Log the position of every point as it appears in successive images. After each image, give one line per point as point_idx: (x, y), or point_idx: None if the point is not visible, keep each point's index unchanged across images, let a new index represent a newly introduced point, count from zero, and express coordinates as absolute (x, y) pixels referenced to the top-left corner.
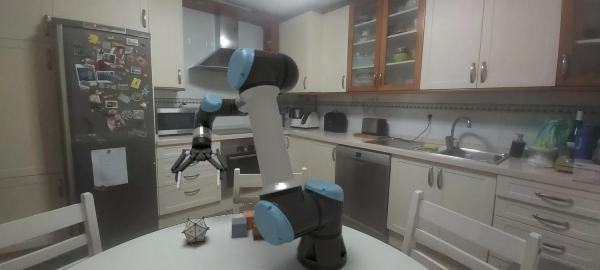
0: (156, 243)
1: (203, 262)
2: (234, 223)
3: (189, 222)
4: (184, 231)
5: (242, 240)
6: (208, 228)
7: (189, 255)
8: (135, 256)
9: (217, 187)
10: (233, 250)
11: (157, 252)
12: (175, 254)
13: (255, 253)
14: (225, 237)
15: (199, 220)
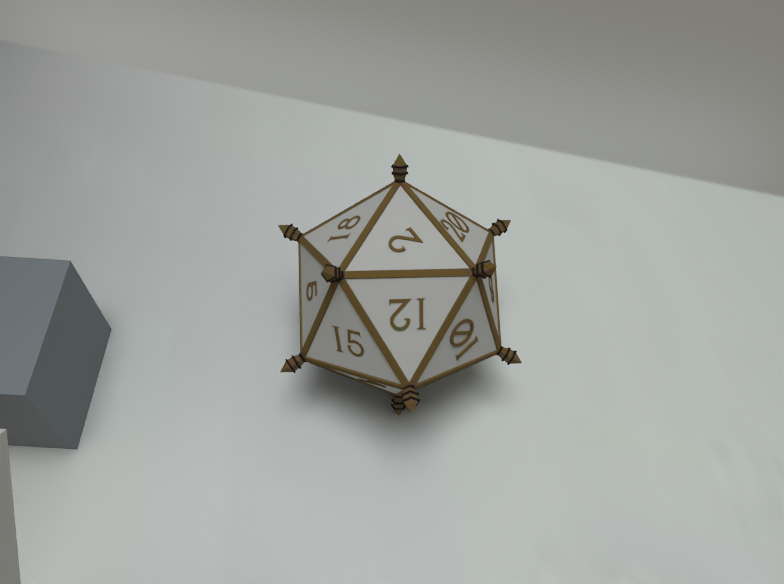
0: (699, 382)
1: (325, 119)
2: (37, 272)
3: (462, 243)
4: (486, 229)
5: None
6: (286, 228)
7: None
8: (758, 255)
9: (12, 527)
10: (134, 181)
11: (635, 266)
12: None
13: (7, 126)
14: (159, 350)
15: (367, 232)
